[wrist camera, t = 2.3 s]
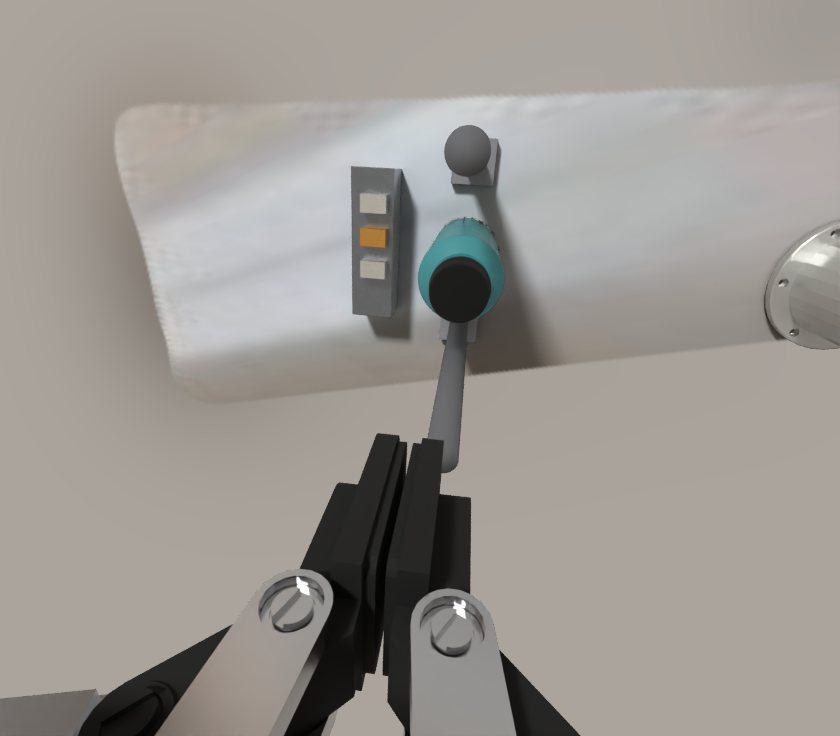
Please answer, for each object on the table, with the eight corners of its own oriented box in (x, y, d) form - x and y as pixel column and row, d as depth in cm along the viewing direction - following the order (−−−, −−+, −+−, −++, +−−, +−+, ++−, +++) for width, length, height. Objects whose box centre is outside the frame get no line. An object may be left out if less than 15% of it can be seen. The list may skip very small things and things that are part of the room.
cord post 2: (479, 304, 48) (479, 433, 25) (475, 339, 50) (472, 490, 26) (442, 301, 49) (408, 425, 25) (439, 336, 50) (405, 482, 27)
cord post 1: (497, 139, 42) (521, 99, 18) (492, 185, 43) (508, 203, 20) (455, 137, 42) (424, 95, 19) (451, 183, 44) (419, 198, 20)
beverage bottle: (425, 265, 47) (392, 325, 29) (448, 203, 45) (426, 226, 26) (482, 287, 48) (485, 360, 29) (508, 227, 45) (529, 265, 27)
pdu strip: (401, 168, 44) (392, 168, 39) (397, 306, 50) (388, 321, 45) (361, 166, 44) (347, 166, 39) (361, 303, 50) (349, 317, 45)
